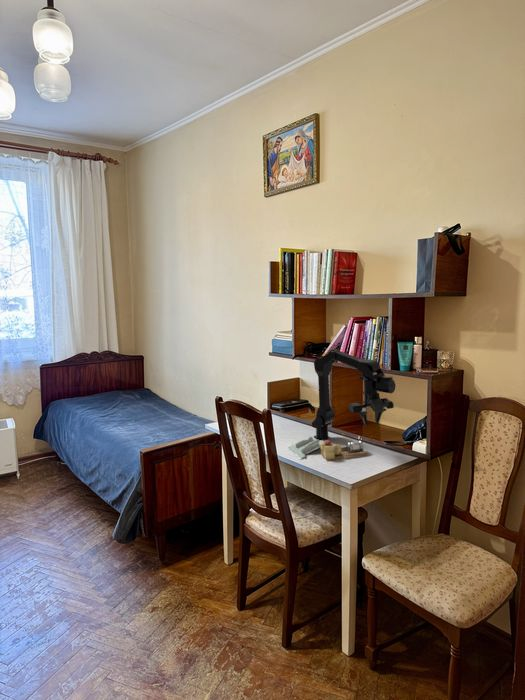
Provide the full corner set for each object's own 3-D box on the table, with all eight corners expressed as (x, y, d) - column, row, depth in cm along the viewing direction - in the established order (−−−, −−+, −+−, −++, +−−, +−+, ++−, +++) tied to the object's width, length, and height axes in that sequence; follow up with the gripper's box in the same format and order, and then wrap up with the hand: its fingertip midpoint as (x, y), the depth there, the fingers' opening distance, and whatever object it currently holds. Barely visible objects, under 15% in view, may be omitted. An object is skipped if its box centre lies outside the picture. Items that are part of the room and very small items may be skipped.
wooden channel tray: (319, 454, 208) (318, 438, 207) (357, 448, 212) (357, 433, 210) (327, 462, 198) (327, 446, 197) (367, 456, 202) (367, 440, 201)
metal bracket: (311, 432, 220) (325, 442, 206) (315, 443, 221) (329, 454, 207) (284, 445, 217) (295, 456, 203) (288, 456, 218) (300, 468, 204)
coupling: (346, 451, 208) (345, 440, 207) (358, 449, 209) (358, 438, 208) (350, 455, 203) (350, 444, 202) (363, 453, 204) (363, 442, 203)
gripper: (358, 397, 193) (359, 433, 196) (400, 392, 197) (400, 427, 200) (347, 390, 204) (348, 425, 207) (387, 386, 208) (387, 420, 211)
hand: (371, 424), depth 206 cm, fingers open, 5 cm apart
